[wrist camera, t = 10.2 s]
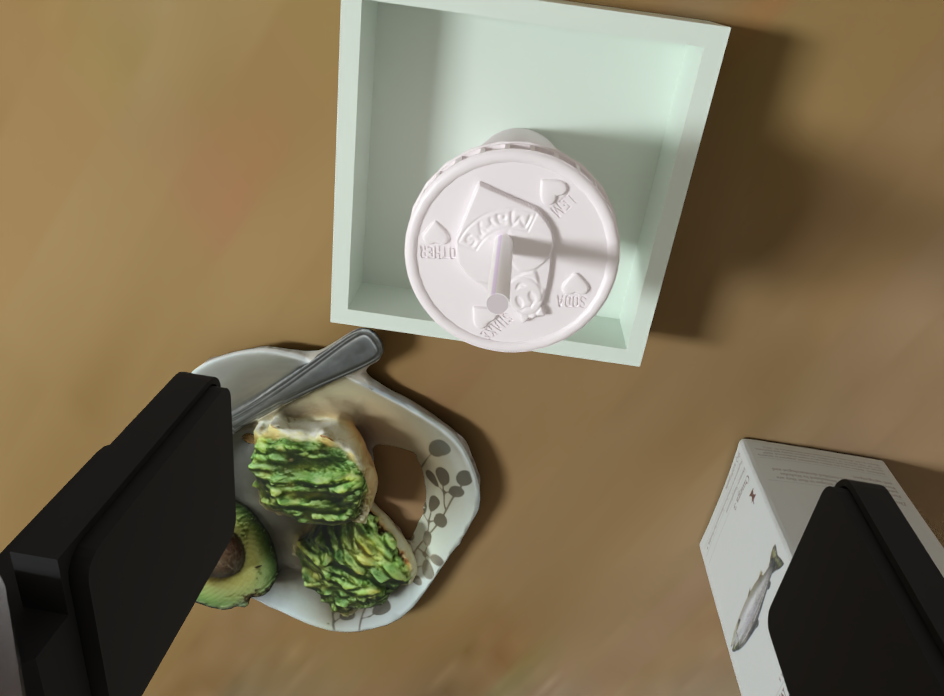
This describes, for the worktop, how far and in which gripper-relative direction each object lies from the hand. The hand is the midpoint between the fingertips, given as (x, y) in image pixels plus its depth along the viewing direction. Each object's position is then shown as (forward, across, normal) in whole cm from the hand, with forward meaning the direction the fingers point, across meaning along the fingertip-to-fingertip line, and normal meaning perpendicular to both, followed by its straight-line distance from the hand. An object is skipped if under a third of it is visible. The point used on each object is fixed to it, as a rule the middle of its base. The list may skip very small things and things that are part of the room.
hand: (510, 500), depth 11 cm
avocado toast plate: (+21, +10, +19) cm, 30 cm away
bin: (+21, +1, 0) cm, 21 cm away
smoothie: (+21, +1, 0) cm, 21 cm away
